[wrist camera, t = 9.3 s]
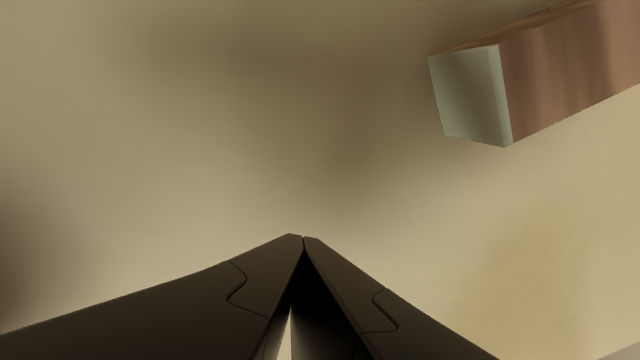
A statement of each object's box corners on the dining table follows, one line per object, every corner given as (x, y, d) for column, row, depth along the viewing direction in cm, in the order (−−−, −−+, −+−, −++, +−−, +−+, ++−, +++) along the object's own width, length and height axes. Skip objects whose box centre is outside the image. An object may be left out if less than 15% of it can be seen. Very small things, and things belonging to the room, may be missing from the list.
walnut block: (504, 147, 18) (700, 54, 20) (487, 48, 16) (704, -41, 18) (444, 135, 22) (609, 60, 25) (426, 57, 21) (605, -15, 23)
